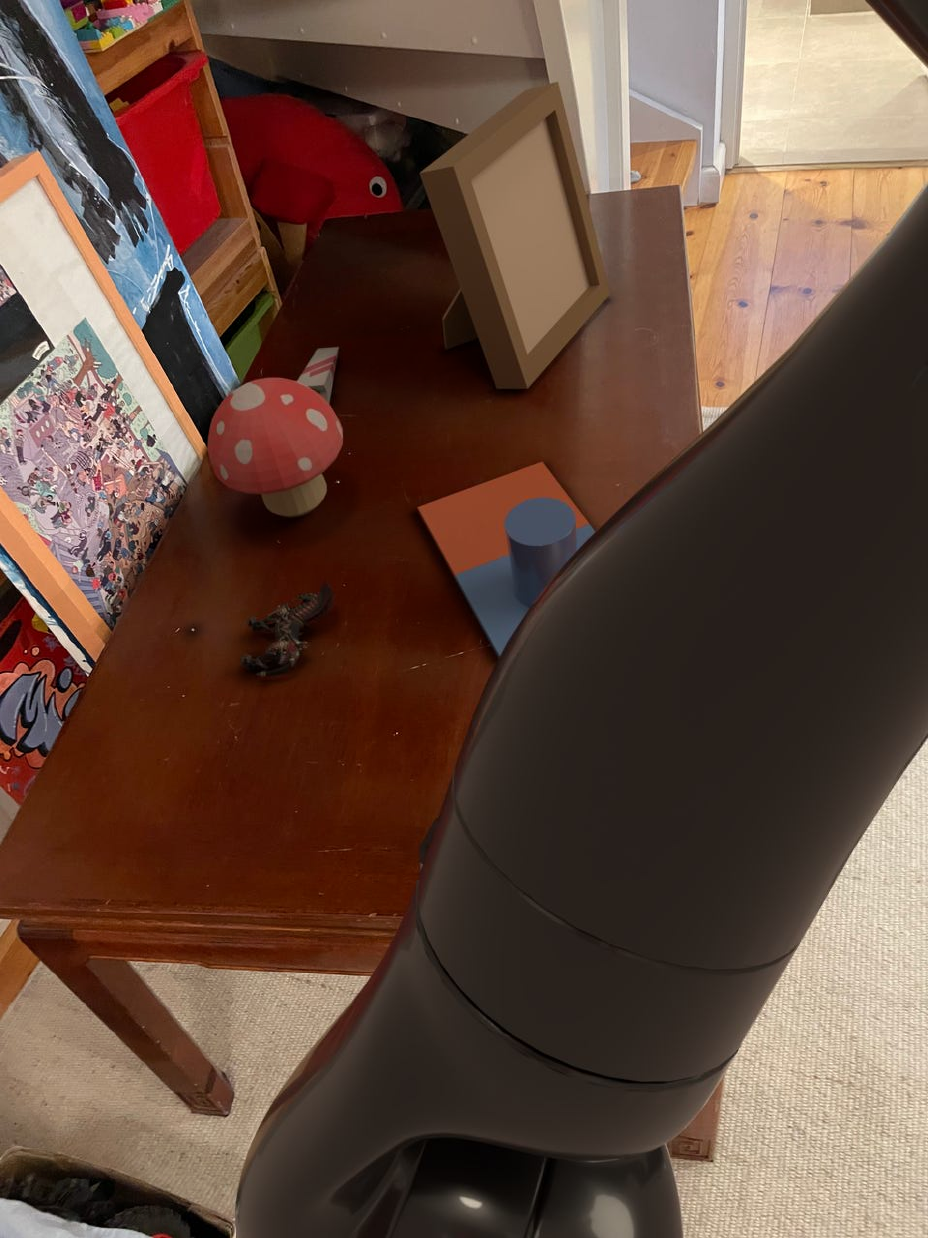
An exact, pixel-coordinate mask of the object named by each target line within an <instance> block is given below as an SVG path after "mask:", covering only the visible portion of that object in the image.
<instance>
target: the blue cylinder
mask: <svg viewBox="0 0 928 1238" xmlns="http://www.w3.org/2000/svg"><path fill="white" fill-rule="evenodd" d="M504 527H505V534H506V540H507V547H508V553H509V560H510V566H511V573H512V579H513V586H514V592H515V595H516V597H517V598H518V600H519V601H520V602H521V603H522V604H524V605H525V606H527V607H529V608H530V607H531V605H532V604H533V603H534V602H535V600H536V599H537V598H538V596H539V595H540V594H541V593H542V591H543V590H544V589H545V587H546V586H547V585H548V584H549V582H550V581H551V580H552V578H553V577H554V576H555V575H556V574H557V572H558V571H559V570H560V569H561V568H562V567H563V566H564V565H565V563H566V562H567V561H568V560H569V559H570V558H571V557H572V556H573V555H574V554H575V552H576V551H577V550H578V545H577V531H576V518H575V514H574V511H573V510H572V509H571V507H570V506H569V505H567V504H566V503H564V502H562V501H560V500H557V499H554V498H545V497H542V498H533V499H529V500H526V501H524V502H521V503H519V504H518V505H516V506H515V507H514V508H512V509H511V510H510V511H509V513H508V514H507V516H506V518H505V522H504Z"/></svg>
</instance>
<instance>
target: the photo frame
mask: <svg viewBox="0 0 928 1238" xmlns="http://www.w3.org/2000/svg"><path fill="white" fill-rule="evenodd" d="M561 92H562V91H561V88H560V84H559V81H556V82H551V83H547V84H544V85H540V86H536V87H531V88H528V89H525V90H523V91H522V92H521V93H519V94H518V95H517V96H515V97H514V98H513V99H512V100H511V101H509V102H508V103H507V104H505V105H504V106H503V107H502V108H500V109H498V111H496V113H494V114H493V115H491V116H490V117H488V119H487V120H485V121H484V122H483V123H481V124H480V125H479V126H477V127H476V128H475V129H474V130H473V131H471V132H469V133H468V134H467V135H466V136H465V137H463V138H462V139H461V140H460V141H458V142H457V143H456V144H455V145H453V146H452V147H451V148H450V149H448V150H446V152H445V153H443V154H441V156H440V157H438V158H437V159H435V160H434V161H433V162H431V163H430V164H429V165H428V166H427V167H425V168H424V169H423V170H422V171H420V172H419V176H420V179H421V183H422V185H423V187H424V190H425V193H426V195H427V198H428V201H429V204H430V207H431V209H432V213H433V215H434V218H435V221H436V224H437V226H438V229H439V231H440V234H441V237H442V241H443V243H444V246H445V249H446V252H447V254H448V257H449V260H450V262H451V265H452V268H453V271H454V273H455V274H454V275H455V276H456V279H457V282H458V285H459V288H458V291H457V292H456V294H455V296H454V297H453V299H452V301H451V302H450V304H449V306H448V308H447V309H446V311H445V312H444V314H443V316H442V320H441V321H442V332H443V339H444V340H443V342H444V343H443V344H444V348H445V350H446V351H447V350H450V349H451V348H455V347H457V346H460V345H463V344H466V343H469V342H471V341H474V340H477V339H478V341H479V344H480V345H481V349H482V351H483V355H484V357H485V361H486V364H487V366H488V368H489V371H490V374H491V378H492V380H493V383H494V385H495V389H496V390H528V389H529V388H530V387H531V386H532V384H533V383H534V382H535V381H536V380H537V379H538V378H539V377H540V375H542V373H543V372H544V371H545V370H546V368H547V367H548V366H549V365H550V364H551V363H552V362H553V360H554V359H555V358H556V357H557V356H558V354H559V353H560V352H561V351H562V350H563V349H564V348H565V347H566V345H567V344H568V343H569V341H571V340H572V339H573V337H574V336H575V335H576V334H577V333H578V332H579V331H580V329H581V328H583V326H584V325H585V324H586V322H587V321H588V320H589V319H590V318H591V317H592V316H593V314H594V313H595V312H596V311H597V310H598V309H599V307H601V305H602V304H603V303H604V302H605V301H606V299H607V298H608V297H609V296H610V295H611V291H610V287H609V282H608V278H607V274H606V270H605V265H604V262H603V257H602V254H601V250H600V246H599V242H598V238H597V233H596V229H595V225H594V221H593V217H592V213H591V209H590V206H589V202H588V201H589V200H588V197H587V193H586V188H585V186H584V181H583V177H582V173H581V169H580V165H579V161H578V156H577V153H576V149H575V144H574V140H573V137H572V132H571V128H570V125H569V120H568V116H567V113H566V108H565V104H564V100H563V96H562V93H561Z"/></svg>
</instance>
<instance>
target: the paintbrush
mask: <svg viewBox="0 0 928 1238" xmlns="http://www.w3.org/2000/svg"><path fill="white" fill-rule="evenodd" d="M339 348H340V347H339V346H336V347H324V348H323V347H322V348H317V349H316V351H315V352H314V354H313V356H312V357H311V358H310V360H309V361H308V363H307V365H306V366H305V368H304V369H303V371H302V373H301V374H300V376H299V377H298V379H297V380H296V381H297V382H300V383H302V384H304V385H306V386H308V387H309V388H311V389H312V390H314V391H315V392H317V393H318V394H320V395H321V396H322V397H323V398H324V399H325V400H326V401H327V402H328V403H329V404H330V401H331V395H332V389H333V383H334V380H335V379H334V378H335V372H336V366H337V362H338V355H339V350H340V349H339Z"/></svg>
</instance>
